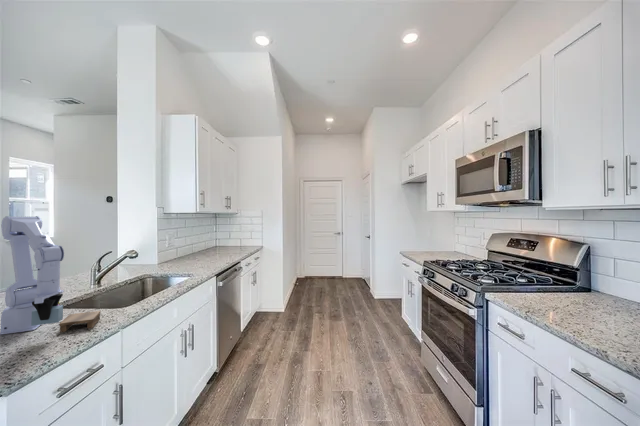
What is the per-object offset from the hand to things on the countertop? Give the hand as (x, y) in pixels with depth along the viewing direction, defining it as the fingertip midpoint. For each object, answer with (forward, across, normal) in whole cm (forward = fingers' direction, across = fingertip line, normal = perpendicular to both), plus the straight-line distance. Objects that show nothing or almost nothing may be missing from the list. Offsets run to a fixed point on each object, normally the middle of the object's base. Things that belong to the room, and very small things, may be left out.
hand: (47, 317), depth 96 cm
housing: (+2, 0, 0) cm, 2 cm away
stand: (+8, +9, -7) cm, 14 cm away
